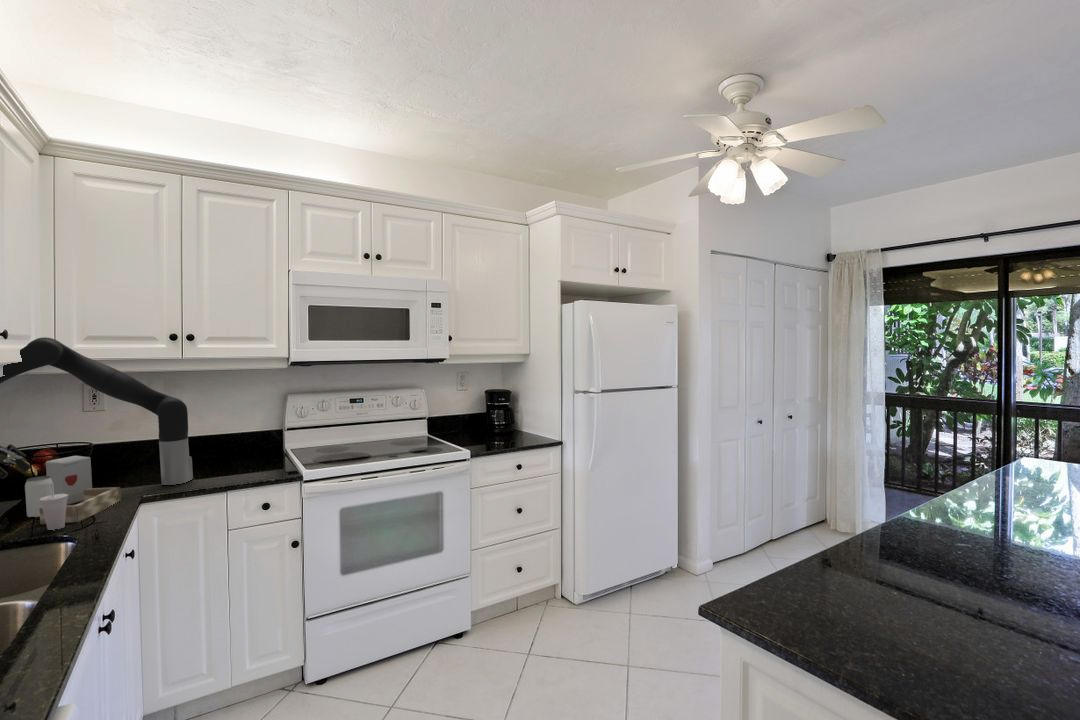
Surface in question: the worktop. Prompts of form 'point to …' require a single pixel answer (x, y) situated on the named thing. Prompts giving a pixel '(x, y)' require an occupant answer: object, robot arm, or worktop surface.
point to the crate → (89, 504)
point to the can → (36, 493)
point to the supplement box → (70, 476)
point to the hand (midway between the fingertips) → (17, 472)
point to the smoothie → (54, 509)
